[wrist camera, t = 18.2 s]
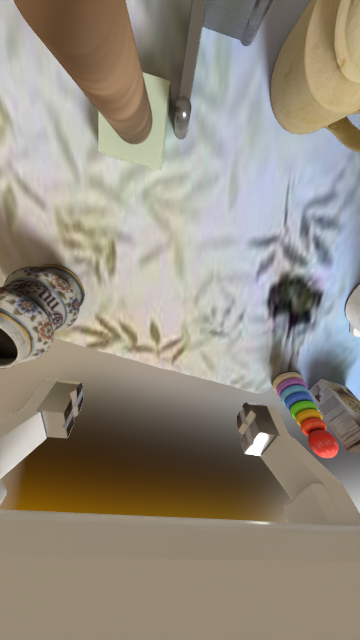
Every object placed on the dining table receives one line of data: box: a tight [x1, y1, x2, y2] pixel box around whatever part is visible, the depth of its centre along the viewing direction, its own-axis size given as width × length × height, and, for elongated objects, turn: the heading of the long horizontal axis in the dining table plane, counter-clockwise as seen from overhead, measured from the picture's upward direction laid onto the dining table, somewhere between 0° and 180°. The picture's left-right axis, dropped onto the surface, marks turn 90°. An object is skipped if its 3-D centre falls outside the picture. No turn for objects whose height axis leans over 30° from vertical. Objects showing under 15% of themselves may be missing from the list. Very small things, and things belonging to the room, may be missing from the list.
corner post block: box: [174, 0, 272, 139], centre depth 22 cm, size 8×12×8 cm, turn 168°
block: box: [98, 72, 171, 170], centre depth 26 cm, size 8×8×4 cm
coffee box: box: [309, 379, 360, 454], centre depth 50 cm, size 9×6×16 cm
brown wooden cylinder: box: [14, 0, 153, 144], centre depth 16 cm, size 5×5×18 cm
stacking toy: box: [273, 372, 338, 458], centre depth 47 cm, size 8×8×19 cm
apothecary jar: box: [0, 265, 85, 369], centre depth 32 cm, size 12×12×18 cm
